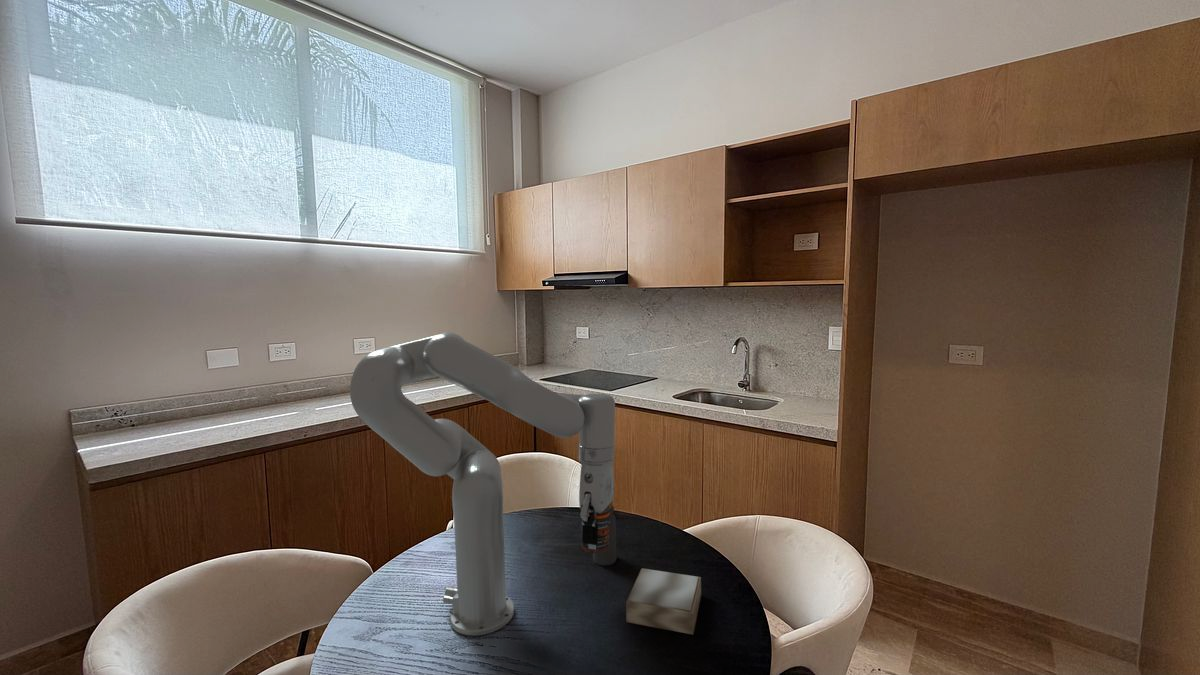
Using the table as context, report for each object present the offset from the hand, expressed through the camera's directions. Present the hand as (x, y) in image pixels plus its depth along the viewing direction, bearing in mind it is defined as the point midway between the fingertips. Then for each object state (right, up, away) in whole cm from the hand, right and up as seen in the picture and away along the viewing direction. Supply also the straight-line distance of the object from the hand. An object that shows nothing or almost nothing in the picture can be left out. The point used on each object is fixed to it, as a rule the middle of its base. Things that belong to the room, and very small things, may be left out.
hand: (595, 535), depth 101 cm
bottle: (+2, -13, +16) cm, 21 cm away
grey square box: (+14, -13, -4) cm, 20 cm away
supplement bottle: (0, -3, 0) cm, 3 cm away
